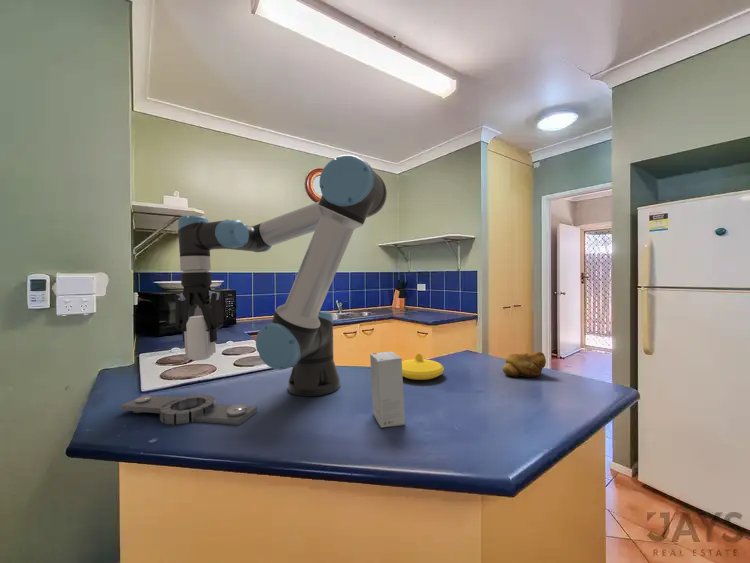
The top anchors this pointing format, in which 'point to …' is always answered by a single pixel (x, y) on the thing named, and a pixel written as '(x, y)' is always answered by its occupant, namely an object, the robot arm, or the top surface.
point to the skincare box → (387, 389)
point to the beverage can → (197, 338)
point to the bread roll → (524, 364)
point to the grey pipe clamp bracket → (202, 412)
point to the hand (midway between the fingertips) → (200, 353)
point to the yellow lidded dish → (421, 368)
